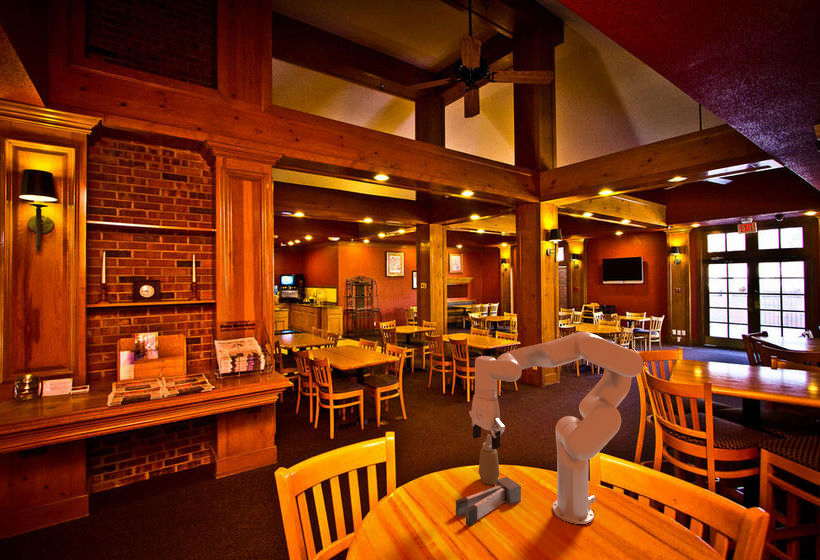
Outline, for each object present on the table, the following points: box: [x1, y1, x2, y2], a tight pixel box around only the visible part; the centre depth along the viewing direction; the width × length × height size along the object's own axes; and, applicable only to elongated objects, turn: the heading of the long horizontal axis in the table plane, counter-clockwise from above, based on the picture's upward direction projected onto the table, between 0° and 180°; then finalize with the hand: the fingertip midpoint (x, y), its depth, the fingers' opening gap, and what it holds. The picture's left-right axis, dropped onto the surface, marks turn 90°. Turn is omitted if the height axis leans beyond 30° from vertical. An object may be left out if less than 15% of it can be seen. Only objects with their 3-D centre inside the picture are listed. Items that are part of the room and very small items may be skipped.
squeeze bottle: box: [478, 434, 500, 486], centre depth 144 cm, size 8×8×18 cm
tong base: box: [455, 476, 522, 518], centre depth 128 cm, size 24×7×6 cm, turn 119°
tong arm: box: [465, 488, 506, 527], centre depth 124 cm, size 19×1×5 cm, turn 130°
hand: (486, 442), depth 128 cm, fingers open, 9 cm apart
